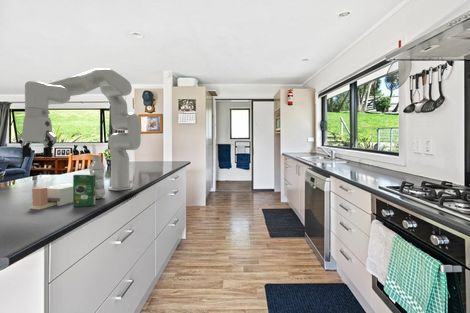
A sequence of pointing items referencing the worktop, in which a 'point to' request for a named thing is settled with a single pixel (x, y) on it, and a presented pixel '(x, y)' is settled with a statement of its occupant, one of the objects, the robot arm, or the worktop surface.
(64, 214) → the worktop surface
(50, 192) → the dispenser
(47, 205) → the block on flat board
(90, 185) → the coffee box
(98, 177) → the plastic bottle
